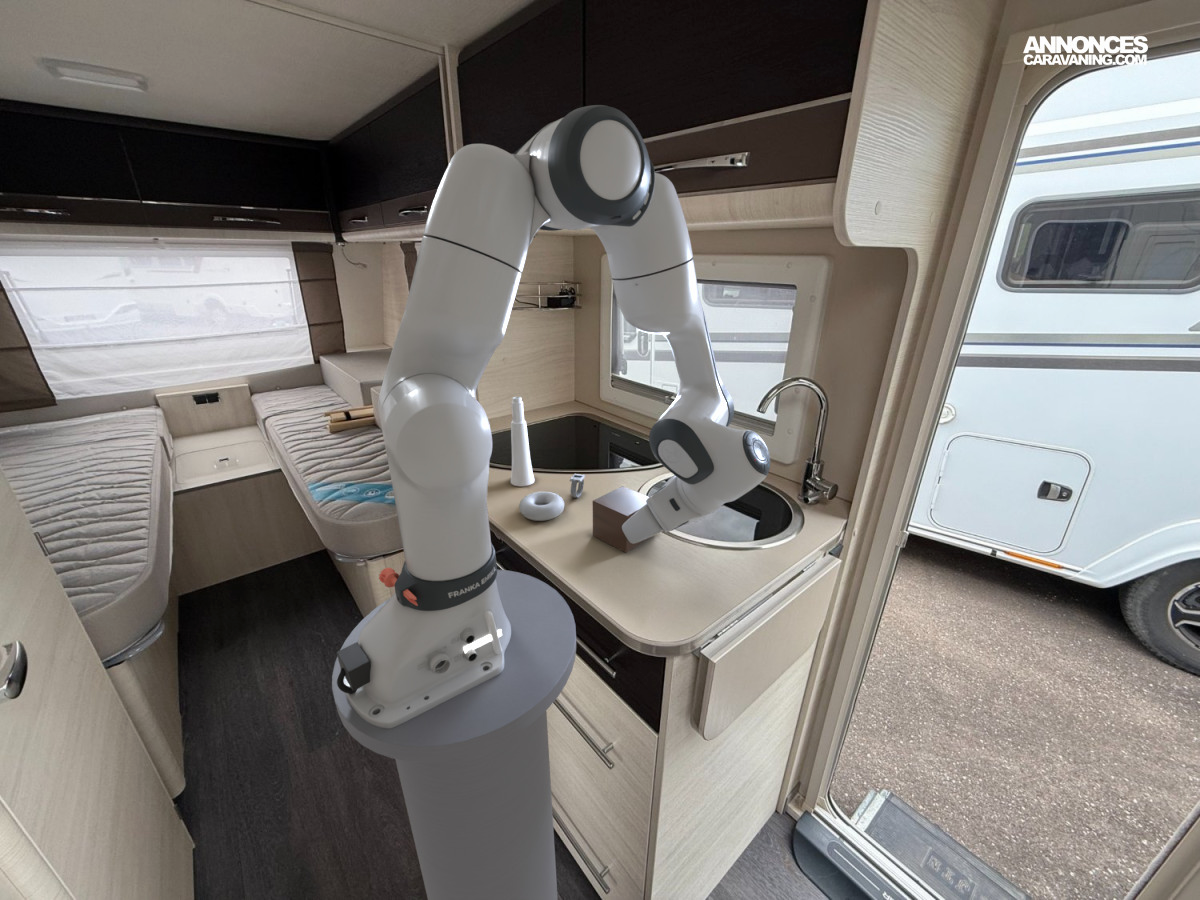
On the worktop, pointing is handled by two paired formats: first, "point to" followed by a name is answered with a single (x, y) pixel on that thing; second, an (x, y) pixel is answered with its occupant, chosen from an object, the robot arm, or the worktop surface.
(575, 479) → the wristwatch
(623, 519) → the walnut block
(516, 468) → the cosmetic bottle
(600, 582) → the worktop surface
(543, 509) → the donut
